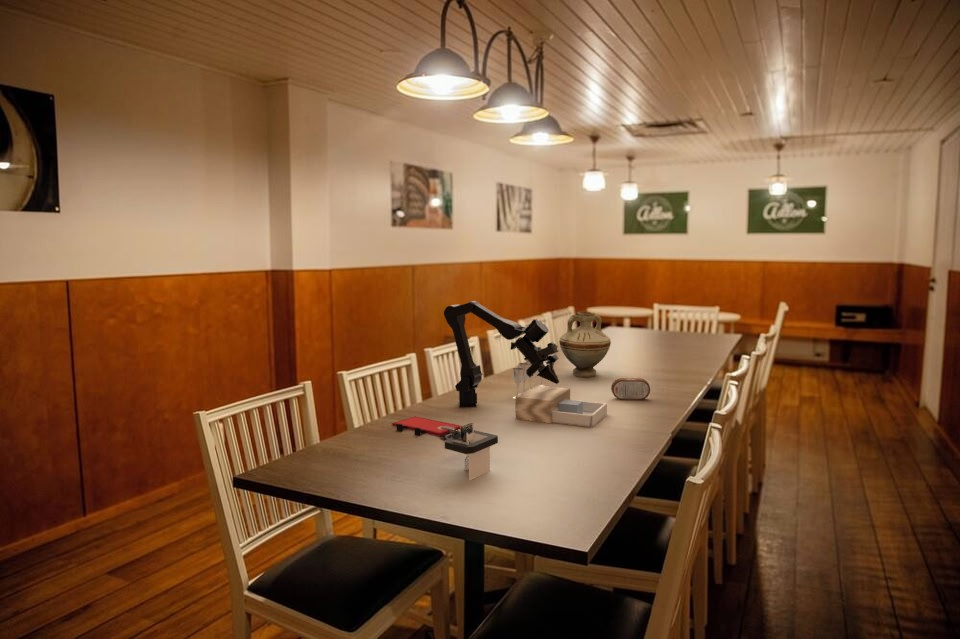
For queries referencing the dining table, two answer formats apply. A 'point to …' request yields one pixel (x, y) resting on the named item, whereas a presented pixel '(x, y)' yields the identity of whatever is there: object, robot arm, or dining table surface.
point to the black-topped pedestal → (473, 448)
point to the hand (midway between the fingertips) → (558, 383)
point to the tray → (582, 415)
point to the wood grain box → (540, 403)
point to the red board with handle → (427, 427)
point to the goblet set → (522, 375)
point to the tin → (630, 388)
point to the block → (571, 406)
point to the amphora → (584, 344)
